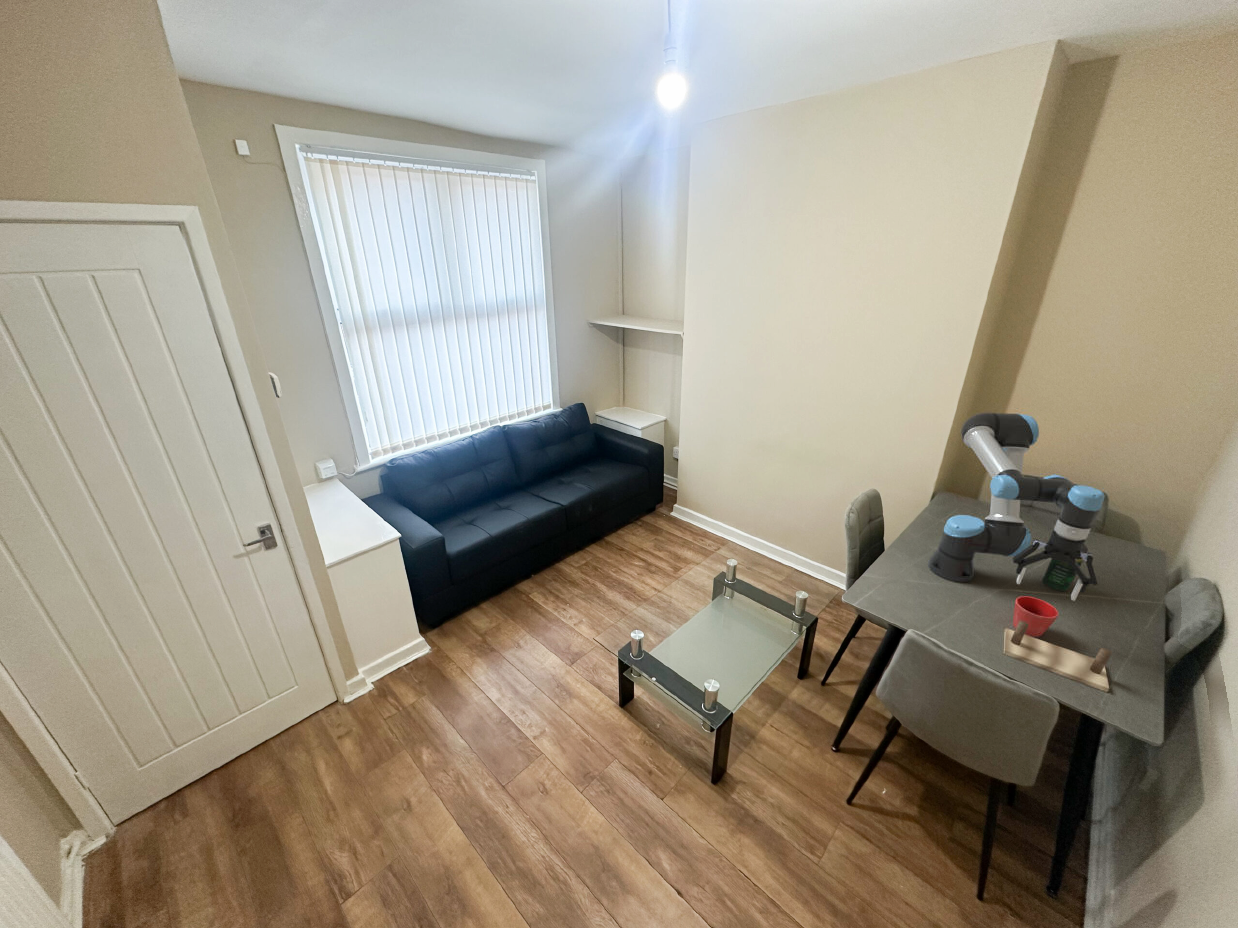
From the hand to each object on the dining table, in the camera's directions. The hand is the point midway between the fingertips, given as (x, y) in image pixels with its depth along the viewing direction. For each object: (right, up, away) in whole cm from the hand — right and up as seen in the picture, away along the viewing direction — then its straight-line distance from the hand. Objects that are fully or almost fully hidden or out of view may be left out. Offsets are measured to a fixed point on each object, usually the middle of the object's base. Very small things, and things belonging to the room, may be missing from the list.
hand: (1044, 589), depth 152 cm
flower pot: (0, -15, +7) cm, 17 cm away
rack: (-2, -20, -5) cm, 21 cm away
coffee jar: (+29, -5, +27) cm, 40 cm away
